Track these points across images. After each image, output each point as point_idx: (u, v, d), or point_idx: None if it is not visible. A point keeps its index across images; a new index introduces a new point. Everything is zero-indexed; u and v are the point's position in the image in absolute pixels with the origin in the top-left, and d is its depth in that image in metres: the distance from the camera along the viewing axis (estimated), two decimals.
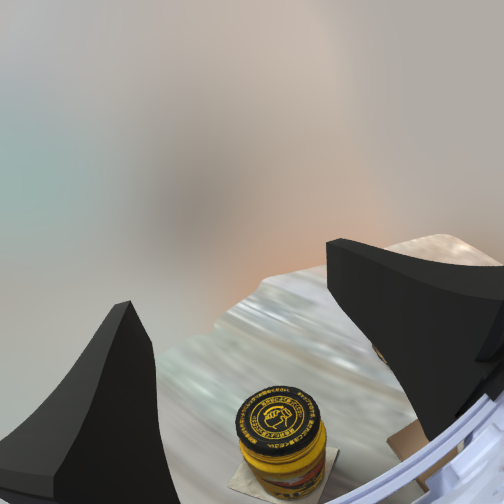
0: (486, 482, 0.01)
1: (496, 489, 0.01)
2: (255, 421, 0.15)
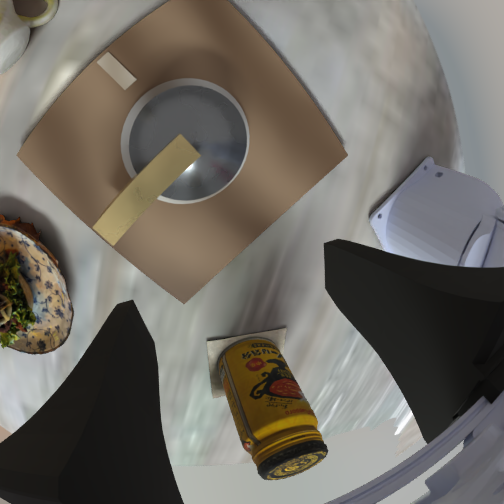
0: (486, 482, 0.01)
1: (496, 489, 0.01)
2: (302, 467, 0.16)
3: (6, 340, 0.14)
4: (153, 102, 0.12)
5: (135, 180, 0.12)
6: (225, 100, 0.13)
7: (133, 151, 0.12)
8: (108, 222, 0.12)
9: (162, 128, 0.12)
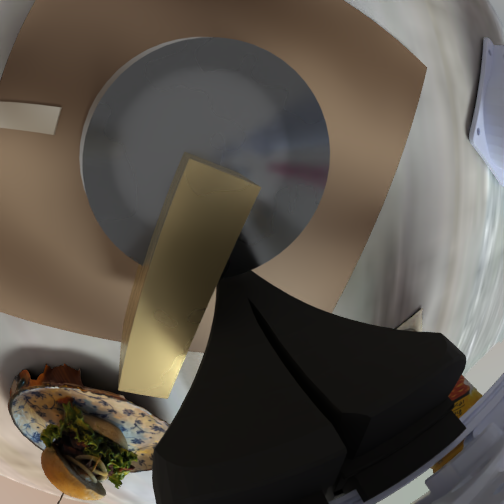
0: (486, 482, 0.01)
1: (496, 489, 0.01)
2: None
3: (117, 480, 0.12)
4: (100, 116, 0.05)
5: (143, 300, 0.05)
6: (248, 49, 0.05)
7: (112, 229, 0.06)
8: (139, 376, 0.06)
9: (145, 158, 0.06)
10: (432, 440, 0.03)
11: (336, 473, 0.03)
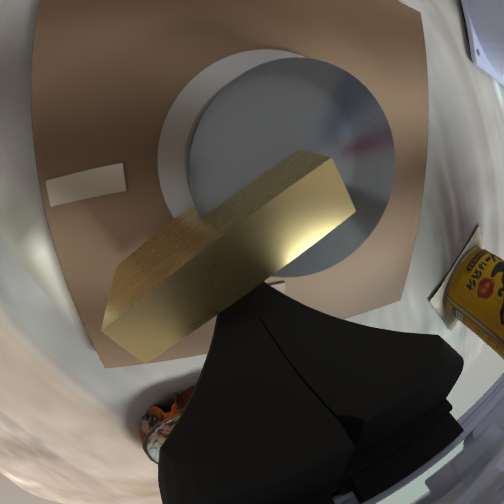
0: (486, 482, 0.01)
1: (496, 489, 0.01)
2: None
3: None
4: (259, 73, 0.05)
5: (214, 247, 0.05)
6: (378, 110, 0.07)
7: (199, 169, 0.06)
8: (138, 325, 0.06)
9: (269, 132, 0.06)
10: (429, 442, 0.03)
11: (342, 470, 0.03)
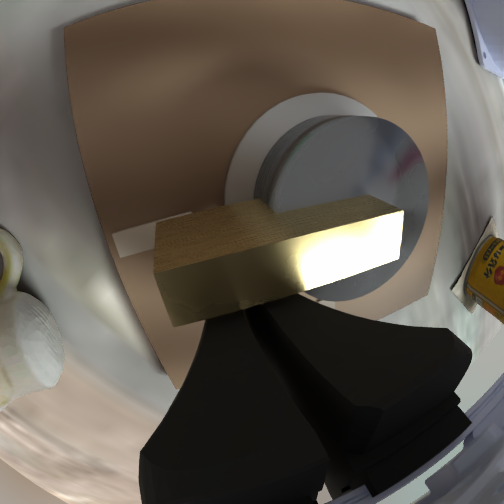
0: (486, 482, 0.01)
1: (496, 489, 0.01)
2: None
3: None
4: (370, 123, 0.07)
5: (305, 238, 0.06)
6: (426, 191, 0.08)
7: (299, 171, 0.07)
8: (196, 283, 0.06)
9: (357, 170, 0.07)
10: (439, 434, 0.03)
11: (322, 479, 0.03)
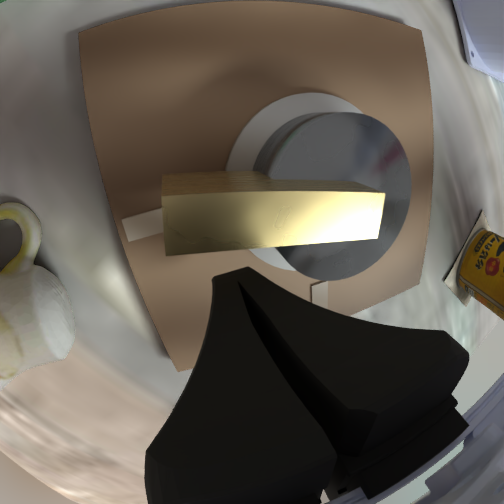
0: (486, 482, 0.01)
1: (496, 489, 0.01)
2: None
3: None
4: (364, 120, 0.08)
5: (297, 194, 0.07)
6: (408, 192, 0.10)
7: (298, 146, 0.08)
8: (197, 214, 0.06)
9: (348, 157, 0.08)
10: (436, 437, 0.03)
11: (328, 477, 0.03)
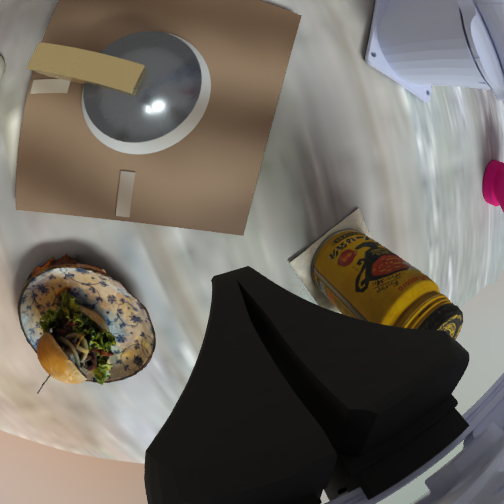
0: (486, 482, 0.01)
1: (496, 489, 0.01)
2: None
3: (100, 375, 0.18)
4: (168, 37, 0.10)
5: (89, 52, 0.08)
6: (196, 94, 0.12)
7: (116, 43, 0.10)
8: (46, 52, 0.07)
9: (146, 56, 0.10)
10: (436, 437, 0.03)
11: (328, 477, 0.03)
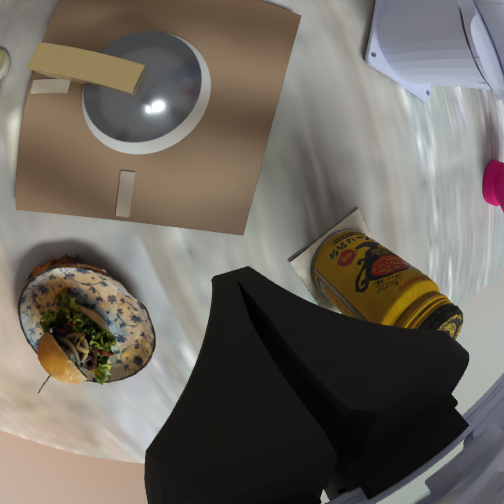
0: (486, 482, 0.01)
1: (496, 489, 0.01)
2: None
3: (100, 375, 0.18)
4: (168, 37, 0.10)
5: (89, 52, 0.08)
6: (196, 94, 0.12)
7: (116, 43, 0.10)
8: (46, 52, 0.07)
9: (146, 56, 0.10)
10: (436, 437, 0.03)
11: (328, 477, 0.03)
